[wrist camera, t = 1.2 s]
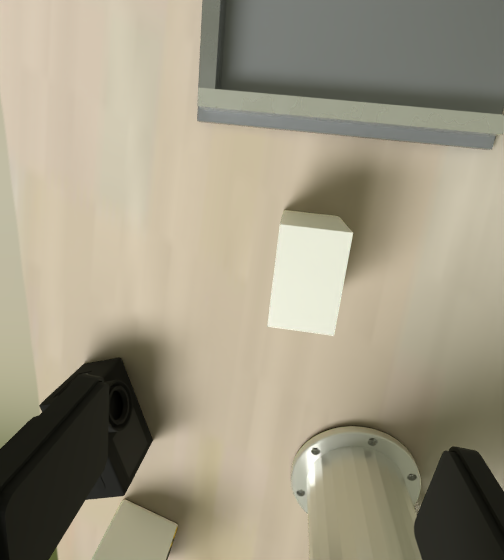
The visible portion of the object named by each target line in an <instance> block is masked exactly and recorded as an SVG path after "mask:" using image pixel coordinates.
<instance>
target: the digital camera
mask: <svg viewBox="0 0 504 560" xmlns="http://www.w3.org/2000/svg"><path fill="white" fill-rule="evenodd" d="M83 373H85V374H90V375H95V376H100V377H103V378H104V382H105V383H107V384H109V427H108V459H107V463H106V466H105V468H104V470H103V472H102V474H101V475H100V477H99V479H98V480H97V482H96V483H95V485H94V487H93V488H92V490H91V492H90V493H89V495H88V496H87V498H86V500H88V499H98V498H107V497H117V496H124V495H125V493H126V491H127V489H128V487H129V486H130V484H131V482H132V480H133V478H134V476H135V474H136V472H137V470H138V468H139V466H140V464H141V462H142V461H143V459H144V457H145V455H146V453H147V451H148V449H149V447H150V445H151V443H152V441H153V440H152V437H151V434H150V432H149V429H148V427H147V424H146V421H145V419H144V416H143V414H142V411H141V408H140V406H139V403H138V401H137V398H136V395H135V393H134V390H133V388H132V385H131V383H130V380H129V377H128V375H127V372H126V370H125V367H124V365H123V362H122V359H121V358H115V359H109V360H104V361H98V362H92V363H87V364H83V365H82V366H81V367H80V368H79V369H78V370H77V371H76V372H75V373H73V374H72V375H71V376H70V377H69V378H68V379H67V380H66V381H65V382H64V383H63V384H62V385H60V386H59V387H58V388H57V389H56V390H55V391H54V392H53V393H52V394H51V395H50V396H48V397H47V398H46V399H45V400H44V401H43V402H42V403H41V404H40V405H39V406H40V408H41V410H42V412H43V411H44V410H45V409H46V408H47V407H48V406H49V405H50V404H51V403H52V402H53V401H54V400H55V399H56V398H57V397H58V396H59V395H60V394H61V393H62V392H63V391H64V390H65V389H66V388H67V387H68V386H69V385H70V384H71V383H72V382H73V381H74V380H75V379H76V378H77V377H78V376H79V375H81V374H83Z"/></svg>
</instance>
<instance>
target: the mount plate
mask: <svg viewBox="0 0 504 560" xmlns="http://www.w3.org/2000/svg"><path fill="white" fill-rule="evenodd" d="M221 90H232V91H244V92H255V93H266V94H277V95H288V96H300V97H311V98H322V99H333V100H344V101H356V102H367V103H378V104H389V105H400V106H412V107H423V108H434V109H445V110H456V111H468V112H479V113H490V114H501V115H502V112H503V109H504V0H227V5H226V20H225V35H224V51H223V66H222V81H221ZM197 121H199V122H207V123H218V124H228V125H238V126H248V127H259V128H269V129H279V130H290V131H300V132H310V133H321V134H331V135H341V136H352V137H362V138H372V139H383V140H393V141H403V142H414V143H424V144H434V145H445V146H455V147H465V148H476V149H486V150H490V149H492V147H493V144H494V140H495V137H496V136H491V137H484V136H473V135H462V134H452V133H441V132H430V131H420V130H409V129H399V128H388V127H377V126H367V125H356V124H346V123H335V122H324V121H314V120H303V119H292V118H282V117H271V116H261V115H250V114H239V113H229V112H218V111H208V110H203V109H201V108H200V107H198V116H197Z"/></svg>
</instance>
